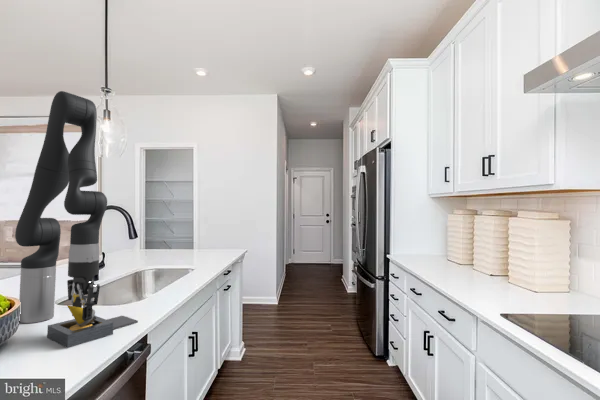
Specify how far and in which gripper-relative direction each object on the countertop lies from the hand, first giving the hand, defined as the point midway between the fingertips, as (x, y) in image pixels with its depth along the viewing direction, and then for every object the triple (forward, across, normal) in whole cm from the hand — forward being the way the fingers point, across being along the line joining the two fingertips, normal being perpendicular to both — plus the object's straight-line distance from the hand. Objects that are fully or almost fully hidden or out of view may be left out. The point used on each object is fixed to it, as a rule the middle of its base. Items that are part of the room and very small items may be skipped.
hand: (81, 317), depth 97 cm
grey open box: (+5, 0, 0) cm, 5 cm away
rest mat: (+5, -2, +11) cm, 13 cm away
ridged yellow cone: (+3, 0, 0) cm, 3 cm away
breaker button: (+5, 0, 0) cm, 5 cm away
